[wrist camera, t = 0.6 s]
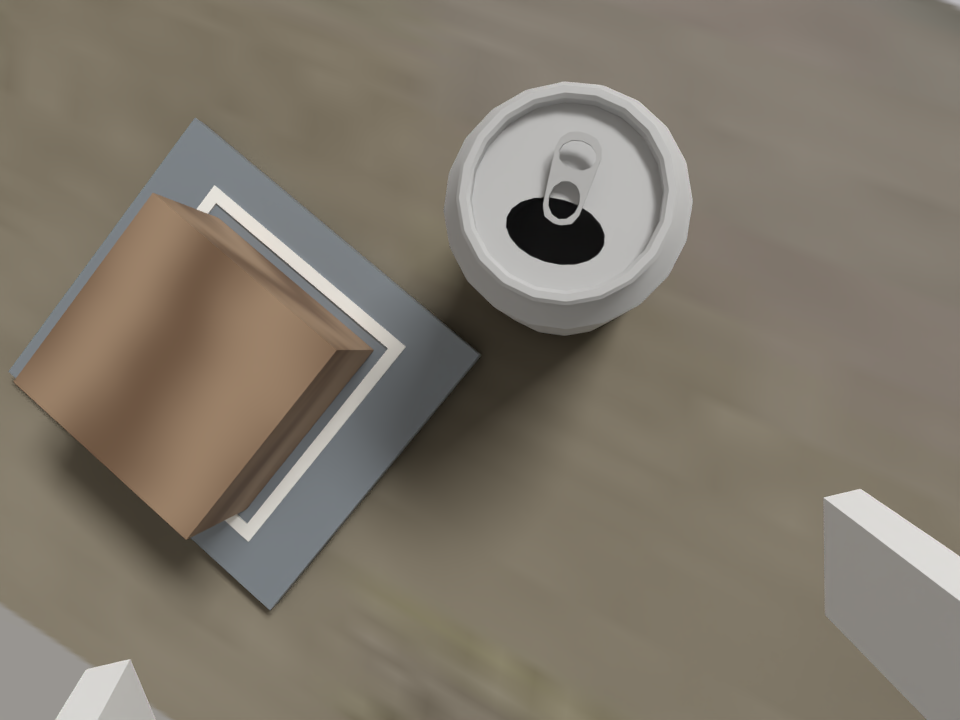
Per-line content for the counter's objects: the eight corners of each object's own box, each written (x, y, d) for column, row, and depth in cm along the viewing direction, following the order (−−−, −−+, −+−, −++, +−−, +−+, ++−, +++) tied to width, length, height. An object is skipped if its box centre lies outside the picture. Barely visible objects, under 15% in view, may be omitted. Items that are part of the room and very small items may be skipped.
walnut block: (373, 349, 30) (336, 350, 25) (246, 509, 31) (186, 539, 26) (218, 217, 31) (152, 192, 26) (98, 376, 32) (13, 381, 27)
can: (463, 309, 30) (400, 282, 18) (510, 155, 30) (477, 26, 18) (617, 356, 29) (655, 361, 17) (668, 199, 29) (743, 94, 17)
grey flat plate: (481, 354, 30) (479, 355, 29) (277, 603, 32) (268, 611, 31) (204, 123, 32) (193, 116, 31) (21, 370, 33) (6, 371, 32)
